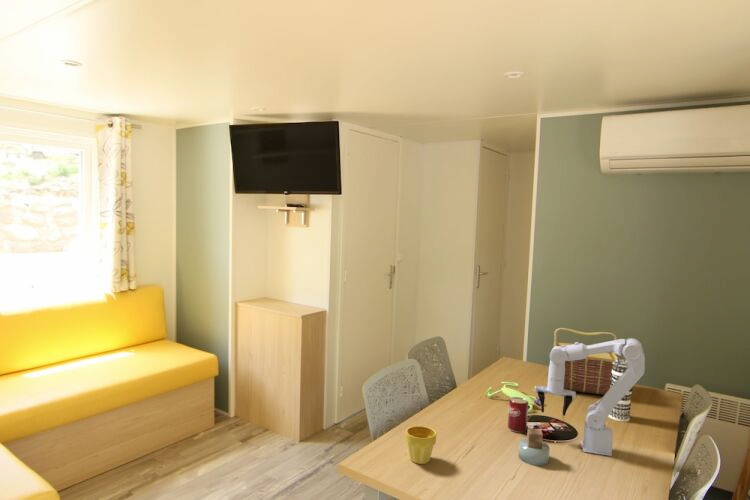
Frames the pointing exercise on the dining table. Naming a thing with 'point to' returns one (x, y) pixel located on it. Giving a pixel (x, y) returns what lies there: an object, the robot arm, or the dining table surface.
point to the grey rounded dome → (534, 454)
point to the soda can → (517, 414)
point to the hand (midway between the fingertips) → (553, 413)
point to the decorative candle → (623, 405)
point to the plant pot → (420, 443)
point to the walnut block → (534, 438)
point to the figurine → (514, 394)
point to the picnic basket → (588, 368)
